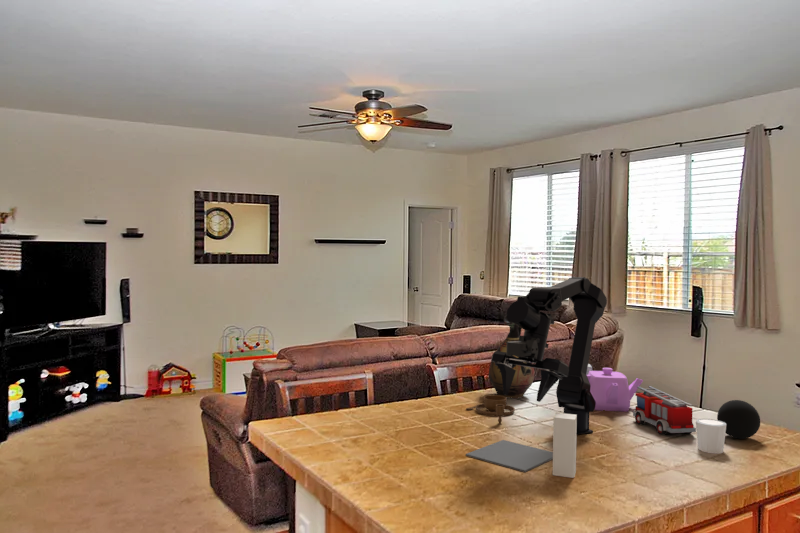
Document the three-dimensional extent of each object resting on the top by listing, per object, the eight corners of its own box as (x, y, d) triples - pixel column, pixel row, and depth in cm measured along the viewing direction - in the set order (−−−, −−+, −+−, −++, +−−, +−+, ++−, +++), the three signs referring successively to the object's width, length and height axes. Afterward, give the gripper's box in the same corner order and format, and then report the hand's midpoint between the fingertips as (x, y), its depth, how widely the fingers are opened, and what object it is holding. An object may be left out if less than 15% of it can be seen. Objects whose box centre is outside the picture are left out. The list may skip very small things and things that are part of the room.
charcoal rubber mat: (503, 441, 154) (503, 439, 154) (560, 455, 143) (560, 453, 143) (465, 455, 142) (465, 453, 142) (525, 472, 131) (525, 470, 131)
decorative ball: (717, 430, 167) (718, 394, 167) (759, 436, 162) (760, 399, 162) (716, 439, 158) (716, 401, 158) (760, 445, 153) (761, 406, 153)
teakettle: (599, 398, 206) (599, 362, 206) (645, 407, 193) (646, 369, 193) (568, 404, 196) (569, 366, 196) (615, 415, 182) (616, 375, 182)
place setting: (529, 413, 185) (530, 394, 185) (504, 428, 168) (504, 407, 168) (477, 405, 194) (478, 387, 194) (448, 418, 178) (449, 398, 178)
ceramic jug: (524, 403, 197) (526, 311, 196) (481, 396, 205) (482, 309, 205) (542, 393, 211) (543, 308, 211) (500, 388, 219) (502, 306, 219)
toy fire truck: (657, 419, 178) (657, 386, 178) (699, 437, 160) (699, 400, 160) (629, 420, 177) (630, 386, 177) (668, 439, 158) (669, 401, 158)
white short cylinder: (723, 447, 151) (724, 419, 151) (728, 455, 145) (729, 426, 145) (693, 444, 153) (693, 417, 153) (697, 452, 147) (697, 423, 147)
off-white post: (554, 468, 134) (555, 412, 134) (575, 471, 132) (576, 414, 132) (552, 475, 130) (553, 417, 130) (574, 477, 128) (575, 419, 128)
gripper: (486, 322, 149) (471, 383, 145) (554, 329, 136) (539, 396, 132) (509, 336, 157) (495, 394, 153) (575, 343, 144) (562, 408, 140)
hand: (521, 398), depth 144 cm, fingers open, 9 cm apart
